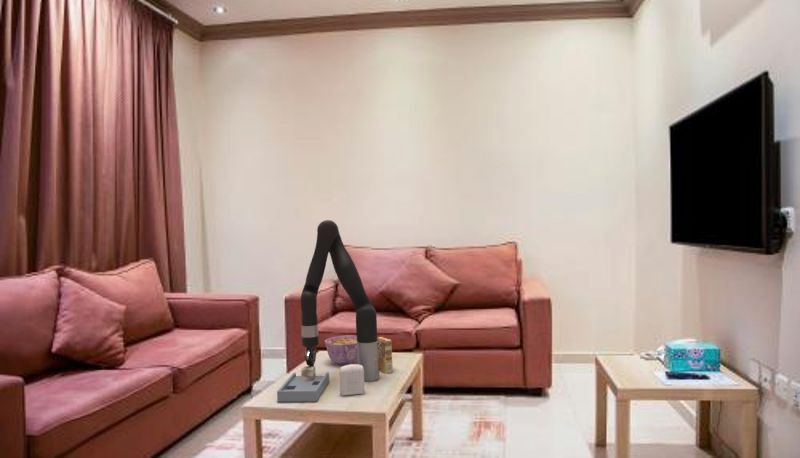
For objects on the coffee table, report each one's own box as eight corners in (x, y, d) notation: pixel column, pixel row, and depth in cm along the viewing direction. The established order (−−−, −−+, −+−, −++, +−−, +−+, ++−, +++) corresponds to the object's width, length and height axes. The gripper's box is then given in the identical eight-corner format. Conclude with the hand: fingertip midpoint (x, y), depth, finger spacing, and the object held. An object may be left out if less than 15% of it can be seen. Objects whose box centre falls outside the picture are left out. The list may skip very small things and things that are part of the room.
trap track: (329, 382, 261) (328, 372, 261) (316, 402, 235) (316, 391, 235) (293, 382, 262) (293, 372, 262) (277, 402, 236) (277, 391, 236)
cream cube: (315, 377, 259) (315, 366, 259) (313, 380, 254) (312, 369, 254) (304, 377, 259) (303, 366, 259) (301, 381, 254) (301, 369, 254)
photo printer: (363, 391, 247) (362, 362, 247) (365, 394, 243) (364, 364, 243) (339, 393, 245) (338, 364, 244) (340, 396, 241) (339, 367, 240)
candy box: (393, 372, 274) (392, 339, 273) (385, 373, 271) (384, 341, 271) (383, 368, 281) (382, 336, 280) (375, 369, 279) (374, 337, 278)
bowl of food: (356, 369, 280) (355, 345, 280) (318, 367, 286) (317, 343, 286) (371, 358, 299) (370, 336, 299) (335, 356, 305) (334, 334, 305)
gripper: (314, 338, 255) (316, 377, 255) (321, 331, 268) (322, 368, 269) (298, 338, 255) (299, 377, 256) (305, 331, 268) (306, 369, 269)
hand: (311, 373), depth 262 cm, fingers closed
